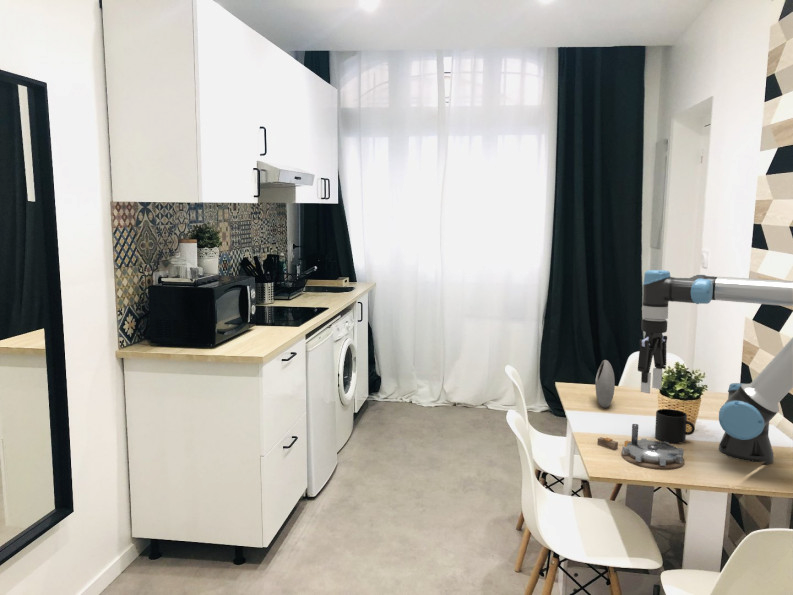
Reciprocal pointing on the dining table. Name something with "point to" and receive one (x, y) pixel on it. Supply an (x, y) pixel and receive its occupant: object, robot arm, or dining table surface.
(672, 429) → the mug
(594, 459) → the dining table surface
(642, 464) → the sprocket base
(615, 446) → the rail
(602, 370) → the grey flattened round ornament
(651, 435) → the dining table surface
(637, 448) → the sprocket
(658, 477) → the dining table surface
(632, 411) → the dining table surface
